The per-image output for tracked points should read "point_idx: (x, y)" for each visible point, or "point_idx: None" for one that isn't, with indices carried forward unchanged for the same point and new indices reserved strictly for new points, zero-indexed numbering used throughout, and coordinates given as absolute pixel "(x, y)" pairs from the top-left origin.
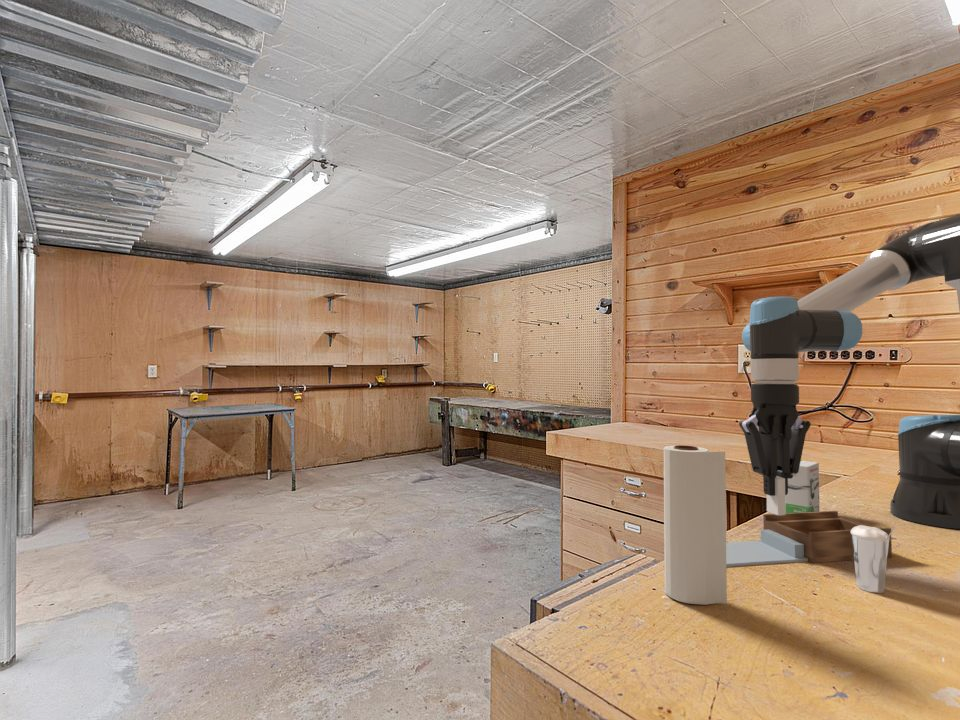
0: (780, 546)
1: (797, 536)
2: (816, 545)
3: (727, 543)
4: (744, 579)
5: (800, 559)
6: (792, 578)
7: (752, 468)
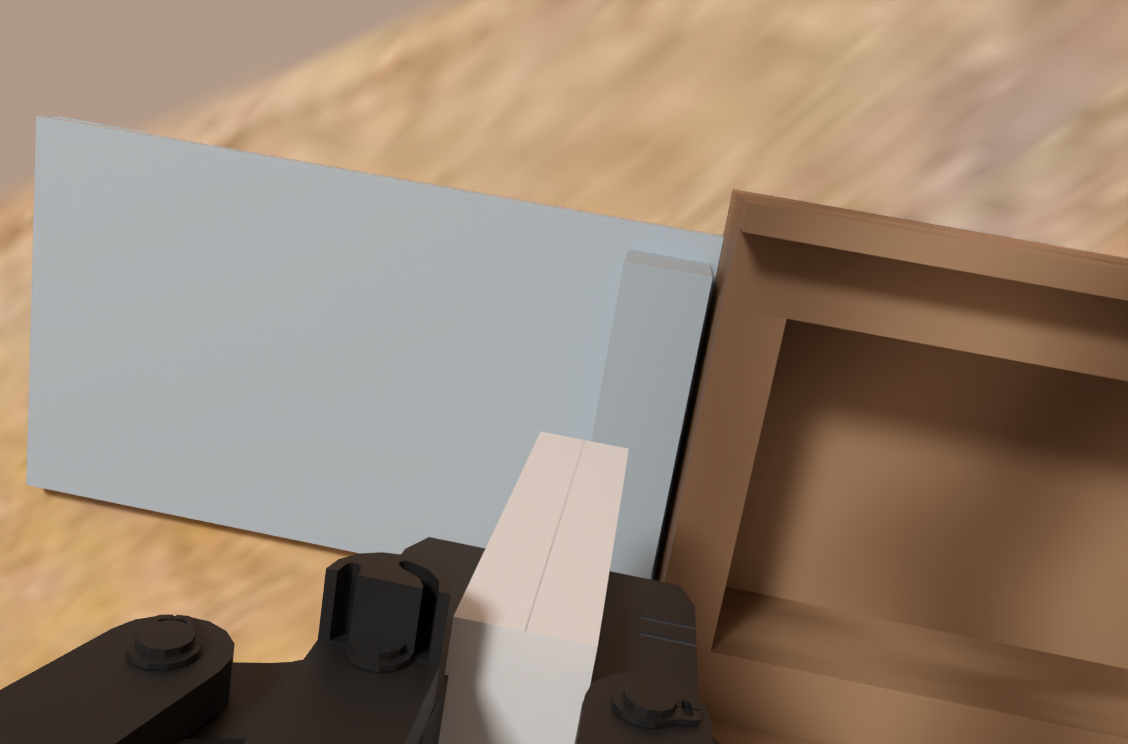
0: None
1: None
2: None
3: (330, 193)
4: (34, 646)
5: None
6: None
7: (90, 644)
